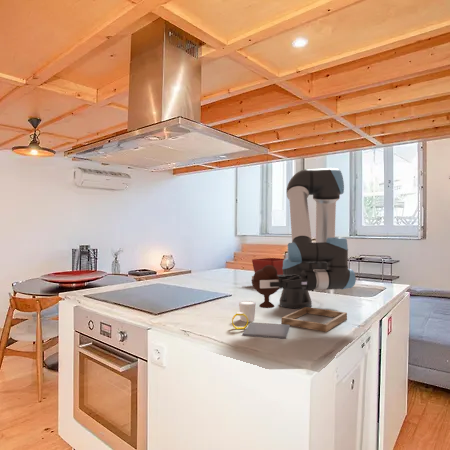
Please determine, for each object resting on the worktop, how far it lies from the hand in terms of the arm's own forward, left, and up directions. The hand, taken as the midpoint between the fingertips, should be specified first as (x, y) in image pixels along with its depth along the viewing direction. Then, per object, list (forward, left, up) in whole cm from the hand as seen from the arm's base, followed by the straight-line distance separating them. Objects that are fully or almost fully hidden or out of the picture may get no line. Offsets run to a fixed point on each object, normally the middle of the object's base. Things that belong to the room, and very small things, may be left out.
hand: (255, 281), depth 124 cm
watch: (-6, +2, -18) cm, 19 cm away
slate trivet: (+4, +2, -18) cm, 18 cm away
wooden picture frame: (+20, +19, -18) cm, 33 cm away
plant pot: (-8, +103, -18) cm, 105 cm away
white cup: (-6, +15, -18) cm, 24 cm away
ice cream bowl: (+4, +2, -9) cm, 10 cm away
